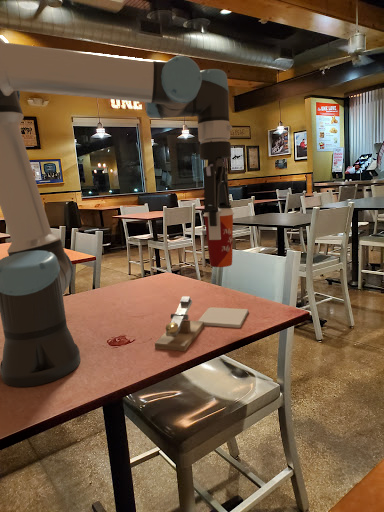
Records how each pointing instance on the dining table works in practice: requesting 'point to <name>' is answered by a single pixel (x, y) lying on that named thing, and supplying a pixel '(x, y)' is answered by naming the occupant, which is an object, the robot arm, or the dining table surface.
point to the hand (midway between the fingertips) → (219, 236)
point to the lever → (179, 317)
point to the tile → (224, 317)
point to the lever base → (180, 336)
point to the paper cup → (221, 248)
